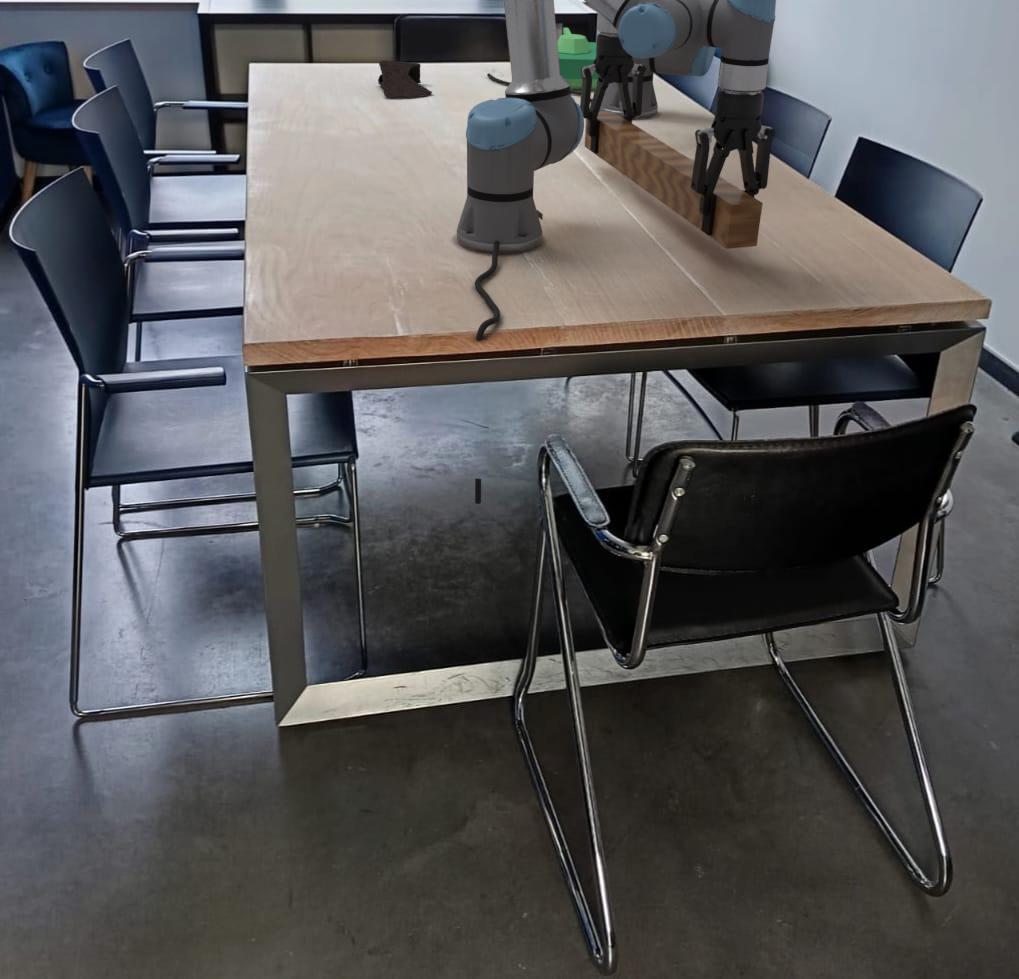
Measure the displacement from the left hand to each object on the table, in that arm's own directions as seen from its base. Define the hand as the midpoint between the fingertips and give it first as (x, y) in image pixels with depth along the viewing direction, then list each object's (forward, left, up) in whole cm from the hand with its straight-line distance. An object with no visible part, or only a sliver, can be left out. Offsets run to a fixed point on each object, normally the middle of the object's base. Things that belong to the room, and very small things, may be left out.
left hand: (723, 231), depth 187 cm
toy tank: (+148, +38, -5) cm, 153 cm away
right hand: (+50, +22, 0) cm, 54 cm away
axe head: (+122, +81, -5) cm, 147 cm away
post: (+25, +11, -1) cm, 27 cm away
